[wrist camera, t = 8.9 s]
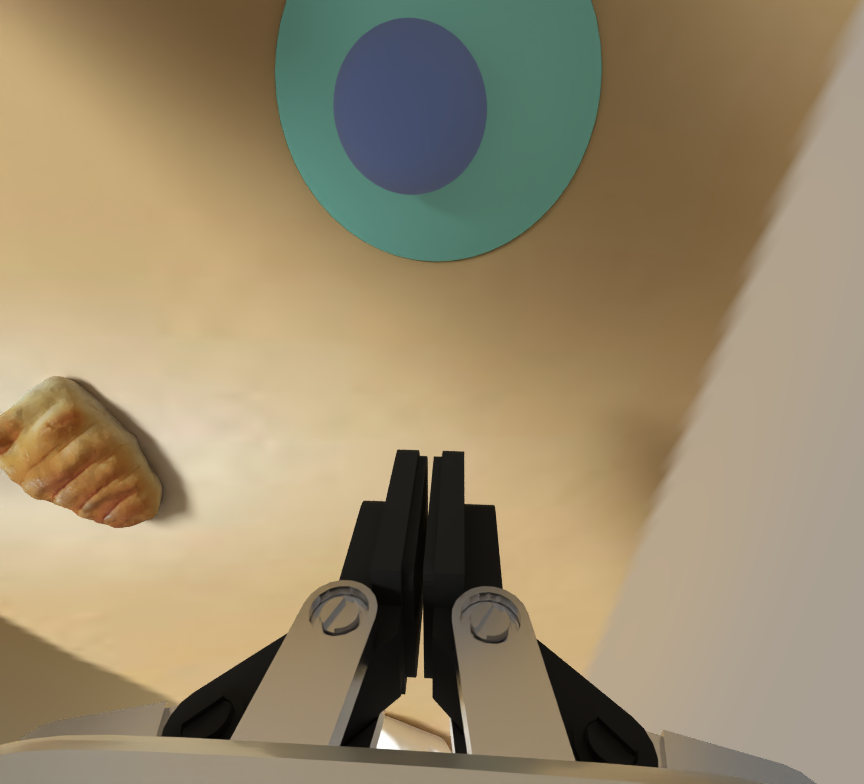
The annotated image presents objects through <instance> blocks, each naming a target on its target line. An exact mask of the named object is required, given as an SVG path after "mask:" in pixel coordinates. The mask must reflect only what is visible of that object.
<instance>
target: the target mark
mask: <svg viewBox="0 0 864 784" xmlns="http://www.w3.org/2000/svg"><path fill="white" fill-rule="evenodd" d="M398 18H418V19H423V20H428V21H431V22H433V23H436V24H438V25H440V26H442V27H444V28H445V29H447V30H448V31H450V32H451V33H453V34H454V35H455V36H456V37H457V38H458V39H459V40H460V41H461V42H462V43H463V44H464V45H465V46H466V47H467V49H468V50H469V52H470V53H471V54H472V56H473V58H474V59H475V61H476V63H477V65H478V68H479V70H480V72H481V75H482V78H483V82H484V86H485V90H486V98H487V119H486V126H485V131H484V135H483V138H482V141H481V144H480V147H479V149H478V151H477V153H476V155H475V156H474V158H473V160H472V161H471V163H470V164H469V166H468V167H467V168H466V169H465V170H464V172H463V173H462V174H461V175H460V176H458V177H457V178H456V179H455V180H454V181H452V182H451V183H449V184H448V185H446V186H444V187H442V188H441V189H438V190H436V191H433V192H429V193H425V194H419V195H405V194H399V193H395V192H391V191H388V190H386V189H383V188H381V187H379V186H377V185H376V184H374V183H373V182H371V181H370V180H368V179H367V178H366V177H365V176H364V175H363V174H362V173H361V172H360V171H359V170H358V169H357V168H356V167H355V166H354V165H353V163H352V162H351V160H350V159H349V157H348V156H347V154H346V152H345V150H344V148H343V146H342V144H341V142H340V139H339V136H338V133H337V129H336V125H335V119H334V109H333V99H334V90H335V84H336V79H337V76H338V73H339V70H340V67H341V65H342V63H343V61H344V59H345V57H346V55H347V54H348V52H349V50H350V49H351V48H352V46H353V45H354V44H355V43H356V42H357V40H358V39H359V38H360V37H362V36H363V35H364V34H365V33H367V32H368V31H369V30H371V29H372V28H374V27H375V26H377V25H379V24H381V23H384V22H387V21H390V20H393V19H398ZM601 75H602V62H601V43H600V37H599V31H598V25H597V19H596V15H595V12H594V8H593V5H592V1H591V0H287V1H286V5H285V8H284V12H283V15H282V19H281V22H280V28H279V34H278V40H277V46H276V62H275V82H276V98H277V104H278V110H279V115H280V121H281V125H282V128H283V132H284V135H285V139H286V142H287V145H288V148H289V150H290V152H291V155H292V157H293V160H294V162H295V164H296V167H297V168H298V170H299V172H300V174H301V176H302V177H303V179H304V181H305V183H306V185H307V186H308V187H309V189H310V190H311V192H312V193H313V195H314V196H315V197H316V199H317V200H318V202H319V203H320V204H321V205H322V206H323V207H324V208H325V209H326V211H327V212H328V213H329V214H330V215H331V216H332V217H333V218H334V219H335V220H336V221H337V222H339V223H340V224H341V225H342V226H343V227H344V228H345V229H347V230H348V231H349V232H351V233H352V234H354V235H355V236H357V237H358V238H360V239H361V240H363V241H364V242H366V243H368V244H370V245H372V246H374V247H376V248H378V249H380V250H382V251H385V252H388V253H391V254H394V255H396V256H400V257H404V258H409V259H414V260H421V261H434V262H437V261H454V260H459V259H464V258H469V257H474V256H477V255H480V254H483V253H486V252H489V251H491V250H493V249H495V248H497V247H500V246H502V245H504V244H506V243H508V242H509V241H511V240H512V239H514V238H516V237H517V236H519V235H520V234H522V233H523V232H525V231H526V230H527V229H528V228H529V227H531V226H532V225H533V224H534V223H535V222H537V221H538V220H539V219H540V218H541V217H542V216H543V215H544V214H545V213H546V212H547V211H548V210H549V209H550V207H551V206H552V205H553V204H554V203H555V202H556V201H557V199H558V198H559V196H560V195H561V194H562V192H563V191H564V190H565V188H566V187H567V186H568V184H569V182H570V181H571V179H572V177H573V175H574V173H575V172H576V170H577V168H578V166H579V165H580V162H581V160H582V158H583V155H584V153H585V151H586V148H587V146H588V144H589V140H590V137H591V134H592V130H593V127H594V124H595V120H596V115H597V110H598V104H599V99H600V90H601Z"/></svg>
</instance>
